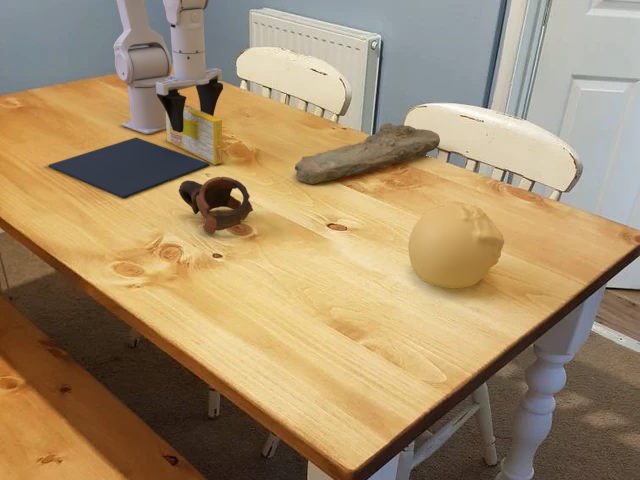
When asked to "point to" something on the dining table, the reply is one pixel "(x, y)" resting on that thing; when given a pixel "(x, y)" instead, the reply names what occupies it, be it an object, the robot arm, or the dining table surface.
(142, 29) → the robot arm
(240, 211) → the brown curved ring piece
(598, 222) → the dining table surface
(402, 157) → the long grey stone
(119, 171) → the cloth
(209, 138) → the candy box
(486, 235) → the sculpture
